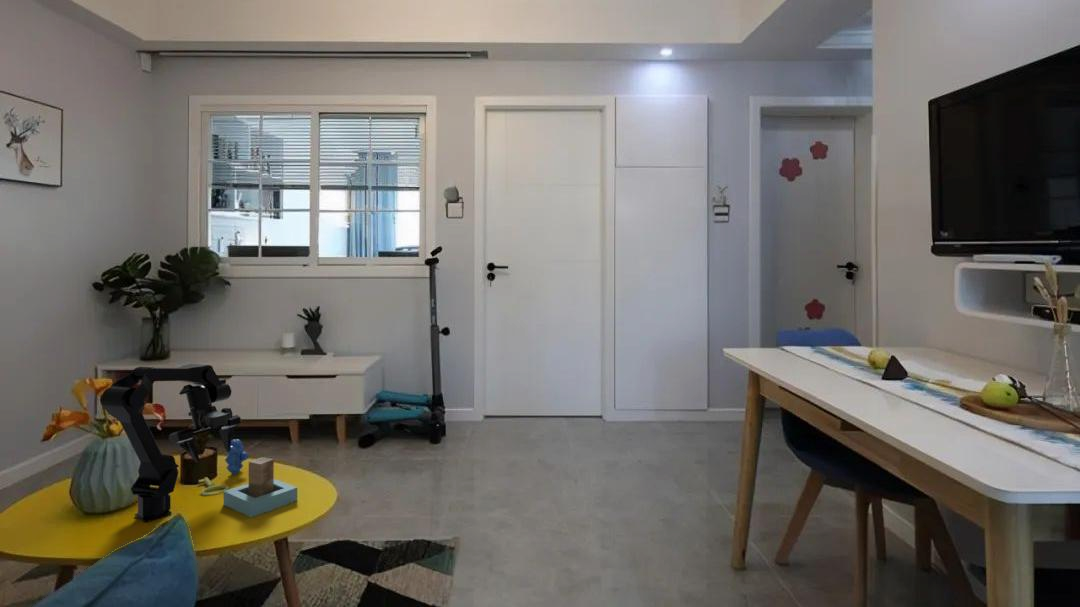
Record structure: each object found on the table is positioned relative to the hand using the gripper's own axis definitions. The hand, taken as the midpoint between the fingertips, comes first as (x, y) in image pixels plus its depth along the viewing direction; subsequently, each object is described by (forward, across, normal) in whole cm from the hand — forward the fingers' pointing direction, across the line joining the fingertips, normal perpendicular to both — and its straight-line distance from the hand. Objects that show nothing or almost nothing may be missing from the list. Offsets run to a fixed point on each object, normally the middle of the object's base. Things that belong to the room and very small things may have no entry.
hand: (213, 456), depth 164 cm
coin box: (+16, +4, -11) cm, 20 cm away
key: (+10, +2, +10) cm, 14 cm away
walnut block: (+16, +4, -12) cm, 20 cm away
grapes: (+9, +14, +14) cm, 22 cm away
